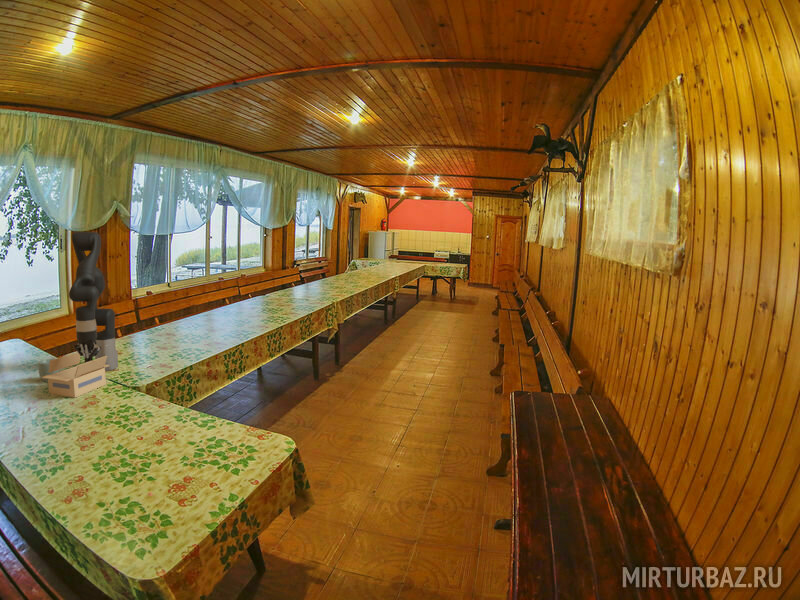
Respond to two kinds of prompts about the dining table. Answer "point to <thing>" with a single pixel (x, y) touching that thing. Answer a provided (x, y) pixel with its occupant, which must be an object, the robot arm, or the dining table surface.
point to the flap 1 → (64, 362)
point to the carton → (75, 382)
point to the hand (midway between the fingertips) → (88, 365)
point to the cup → (45, 369)
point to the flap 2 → (90, 366)
